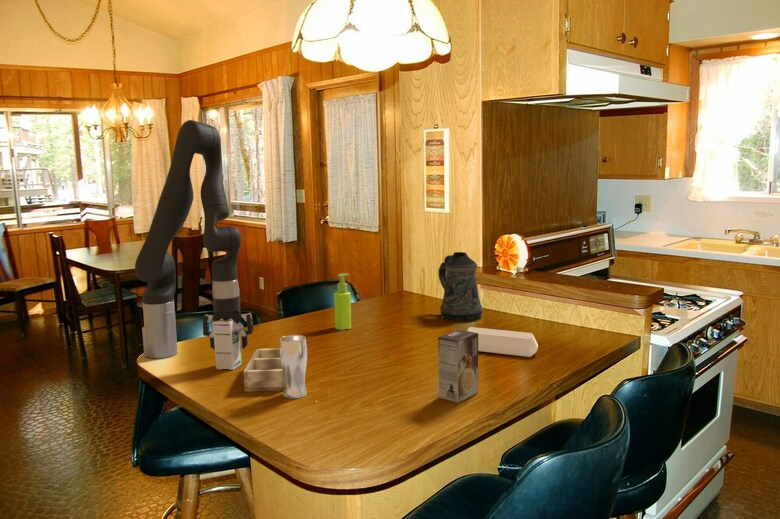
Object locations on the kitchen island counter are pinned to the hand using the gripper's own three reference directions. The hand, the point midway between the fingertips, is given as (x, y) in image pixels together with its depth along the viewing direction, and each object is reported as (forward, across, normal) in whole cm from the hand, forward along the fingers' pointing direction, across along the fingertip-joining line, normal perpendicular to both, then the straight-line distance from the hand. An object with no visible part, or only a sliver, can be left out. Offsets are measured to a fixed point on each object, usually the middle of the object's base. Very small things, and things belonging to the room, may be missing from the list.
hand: (229, 348), depth 179 cm
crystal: (+7, +82, +7) cm, 83 cm away
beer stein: (+6, +77, +53) cm, 94 cm away
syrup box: (+6, 0, 0) cm, 6 cm away
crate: (+6, +13, -11) cm, 18 cm away
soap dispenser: (+6, +33, +40) cm, 53 cm away
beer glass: (+6, +21, -24) cm, 33 cm away
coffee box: (+6, +63, -29) cm, 70 cm away
